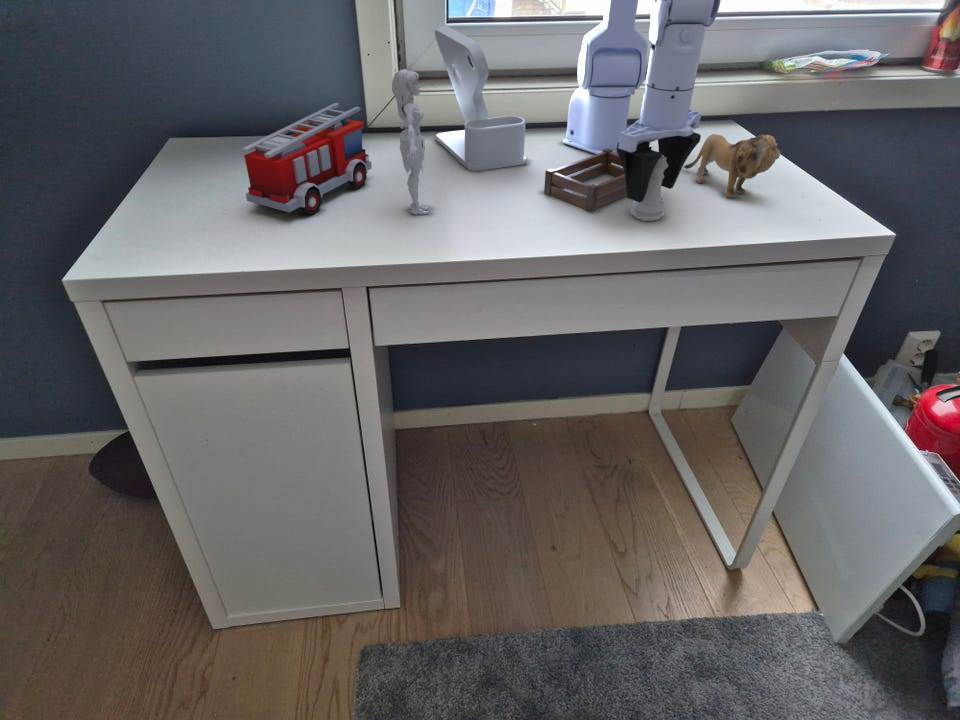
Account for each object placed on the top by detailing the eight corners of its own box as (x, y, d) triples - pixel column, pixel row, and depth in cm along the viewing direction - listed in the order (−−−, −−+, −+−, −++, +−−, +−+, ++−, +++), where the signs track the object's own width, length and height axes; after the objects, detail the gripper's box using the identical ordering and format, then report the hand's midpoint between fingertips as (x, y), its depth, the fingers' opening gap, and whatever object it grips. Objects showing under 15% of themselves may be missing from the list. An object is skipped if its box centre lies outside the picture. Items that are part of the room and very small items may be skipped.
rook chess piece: (665, 211, 89) (676, 153, 85) (661, 224, 86) (672, 165, 81) (632, 206, 91) (641, 149, 86) (627, 219, 87) (636, 160, 82)
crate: (543, 192, 94) (545, 170, 92) (604, 170, 102) (607, 148, 100) (591, 212, 89) (593, 188, 87) (651, 186, 96) (655, 164, 94)
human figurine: (432, 230, 84) (427, 82, 73) (403, 232, 83) (394, 83, 73) (423, 193, 93) (417, 58, 83) (397, 195, 93) (387, 59, 82)
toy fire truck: (378, 178, 98) (373, 109, 92) (294, 225, 84) (281, 149, 78) (331, 167, 101) (322, 100, 95) (243, 211, 88) (226, 136, 82)
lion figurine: (773, 199, 93) (792, 136, 88) (749, 207, 91) (767, 143, 85) (694, 167, 103) (707, 108, 97) (670, 174, 100) (682, 114, 95)
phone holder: (530, 164, 103) (537, 39, 92) (470, 172, 100) (471, 45, 89) (487, 131, 116) (489, 18, 105) (433, 137, 113) (429, 22, 102)
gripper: (662, 103, 72) (642, 217, 80) (731, 81, 80) (706, 187, 88) (611, 90, 76) (597, 200, 84) (681, 70, 84) (662, 172, 92)
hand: (650, 192), depth 86 cm, fingers open, 6 cm apart
